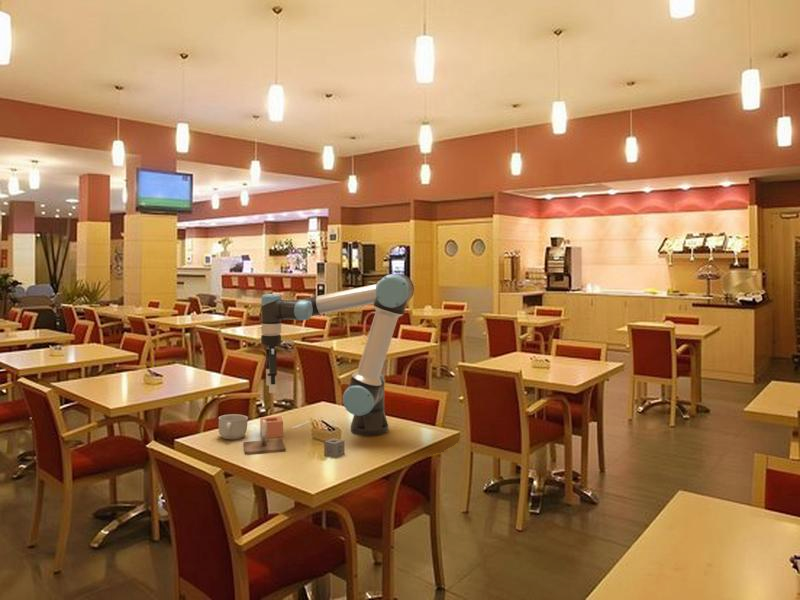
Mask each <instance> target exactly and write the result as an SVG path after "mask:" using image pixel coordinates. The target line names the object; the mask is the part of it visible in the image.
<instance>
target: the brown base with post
mask: <svg viewBox="0 0 800 600" xmlns="http://www.w3.org/2000/svg"><path fill="white" fill-rule="evenodd" d="M260 436H261V440H254V441H253V440H252V441H251V440H250V441H243V451H244V455H245V456H249V455H260V454H270V453H271V454H272V453H282V452H286V451H287V450H286V449H287V447H286V446H285V443H284V440H283V439H282V438H276V439H268V438H267V420H262V421H261V428H260Z"/></svg>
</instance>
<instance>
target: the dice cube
mask: <svg viewBox="0 0 800 600" xmlns="http://www.w3.org/2000/svg"><path fill="white" fill-rule="evenodd" d="M345 441H346V440H344V439H340V438H336V437H332V438H330V439H327V440H325V441H324V442H323V443H324V444H323V445H324V446H323V450H324V451H323V453H324V455H323V456H326V457H328V458H329V457H330V458H332V459H333V458H334V459H337V458H339V457H341V456H344V455H345V453H346V452H345V447H346V446H345V445H346V444H345Z"/></svg>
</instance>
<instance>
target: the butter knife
mask: <svg viewBox="0 0 800 600" xmlns="http://www.w3.org/2000/svg"><path fill="white" fill-rule="evenodd" d="M310 422H311V421H310V420H307V421H304V422H302V423H299V424H297V425H295V426H292V427H291V428H292V429H298V428H300V427H302V426H304V425H307V424H308V423H310Z"/></svg>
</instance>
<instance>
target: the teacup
mask: <svg viewBox="0 0 800 600" xmlns="http://www.w3.org/2000/svg"><path fill="white" fill-rule="evenodd" d="M248 421H249V416H247V415H243V414H235V413H234V414H233V413H232V414H231V413H230V414H224V415H220V416H218V433H219V435H220V436H221V437H222V438H223V439H225V440H231V441H232V440H238V439H241V438H243V436H245V435H246V433H247V430H248Z"/></svg>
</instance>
